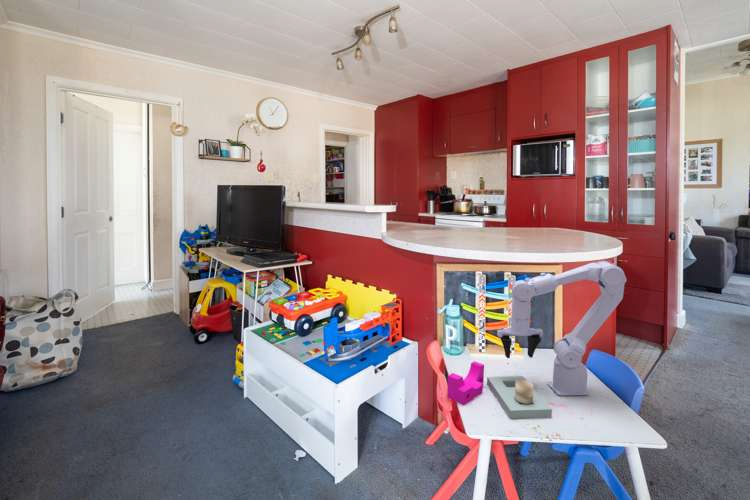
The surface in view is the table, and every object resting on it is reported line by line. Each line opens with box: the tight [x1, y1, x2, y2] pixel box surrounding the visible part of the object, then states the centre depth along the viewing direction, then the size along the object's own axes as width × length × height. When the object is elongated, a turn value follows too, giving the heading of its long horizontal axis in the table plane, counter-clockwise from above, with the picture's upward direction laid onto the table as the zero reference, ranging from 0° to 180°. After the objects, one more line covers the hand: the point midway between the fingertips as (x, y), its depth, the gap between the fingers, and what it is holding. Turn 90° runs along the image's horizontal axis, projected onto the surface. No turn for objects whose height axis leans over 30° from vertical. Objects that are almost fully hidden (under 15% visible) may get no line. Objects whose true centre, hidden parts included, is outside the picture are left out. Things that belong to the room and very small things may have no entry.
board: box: [486, 375, 553, 420], centre depth 118 cm, size 12×20×2 cm, turn 2°
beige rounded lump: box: [515, 380, 535, 405], centre depth 113 cm, size 5×5×7 cm
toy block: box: [446, 361, 485, 406], centre depth 122 cm, size 15×6×8 cm, turn 133°
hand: (518, 356), depth 126 cm, fingers open, 7 cm apart
